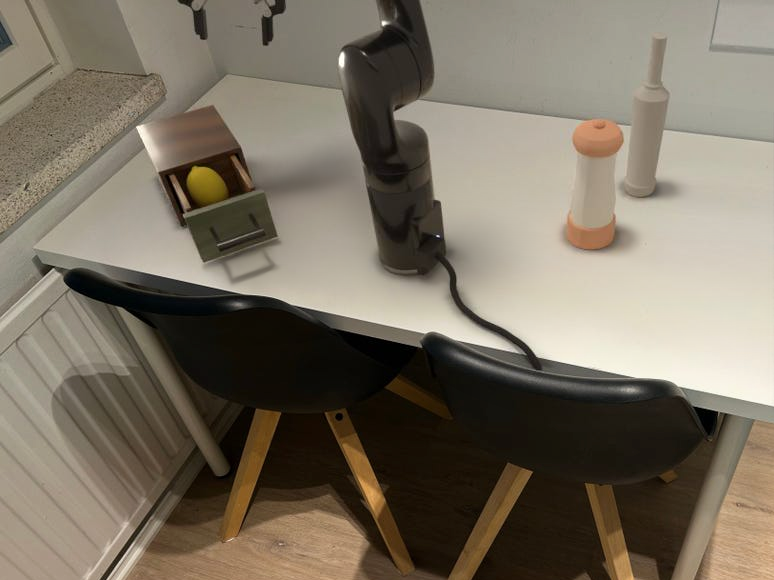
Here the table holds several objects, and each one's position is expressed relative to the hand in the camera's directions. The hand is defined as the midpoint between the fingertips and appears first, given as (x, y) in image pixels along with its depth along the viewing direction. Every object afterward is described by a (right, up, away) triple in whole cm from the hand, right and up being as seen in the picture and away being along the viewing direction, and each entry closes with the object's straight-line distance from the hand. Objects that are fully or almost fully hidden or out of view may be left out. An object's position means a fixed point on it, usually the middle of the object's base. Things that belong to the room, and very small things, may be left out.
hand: (235, 42), depth 103 cm
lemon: (-6, -22, +11) cm, 26 cm away
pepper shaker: (+52, -27, +8) cm, 59 cm away
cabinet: (-12, -16, +21) cm, 29 cm away
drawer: (-4, -26, +11) cm, 28 cm away
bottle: (+62, -18, +15) cm, 66 cm away
